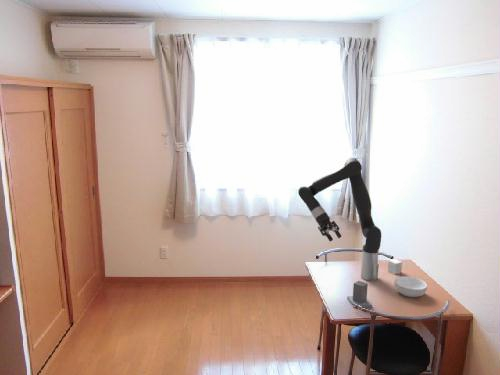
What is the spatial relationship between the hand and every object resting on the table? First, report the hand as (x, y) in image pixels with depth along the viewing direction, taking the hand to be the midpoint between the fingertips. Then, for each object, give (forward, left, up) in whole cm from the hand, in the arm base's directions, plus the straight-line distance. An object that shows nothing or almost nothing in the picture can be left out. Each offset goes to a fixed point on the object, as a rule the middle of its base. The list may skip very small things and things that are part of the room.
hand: (336, 239), depth 227 cm
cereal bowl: (-40, +12, -29) cm, 51 cm away
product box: (-45, -19, -29) cm, 57 cm away
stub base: (-8, +21, -29) cm, 36 cm away
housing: (-8, +21, -27) cm, 35 cm away
